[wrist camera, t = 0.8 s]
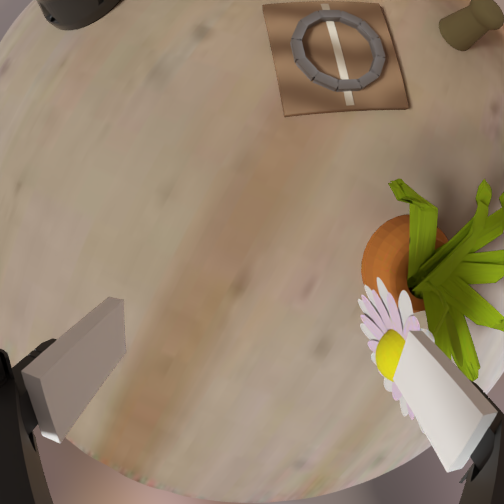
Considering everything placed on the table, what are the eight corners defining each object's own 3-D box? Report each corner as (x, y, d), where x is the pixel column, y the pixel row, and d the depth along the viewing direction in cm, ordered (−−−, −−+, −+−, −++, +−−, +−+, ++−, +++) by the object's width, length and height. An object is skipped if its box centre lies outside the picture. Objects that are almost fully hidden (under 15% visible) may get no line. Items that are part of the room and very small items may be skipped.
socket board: (262, 9, 32) (262, -1, 30) (376, 7, 31) (382, -1, 29) (284, 117, 35) (285, 112, 33) (405, 109, 34) (413, 105, 32)
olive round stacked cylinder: (436, 35, 31) (474, 7, 21) (441, 11, 30) (476, -19, 19) (467, 58, 32) (510, 36, 21) (471, 32, 30) (510, 9, 20)
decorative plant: (301, 200, 37) (374, 229, 13) (459, 148, 35) (603, 138, 10) (355, 378, 42) (412, 514, 18) (486, 317, 40) (586, 393, 16)
